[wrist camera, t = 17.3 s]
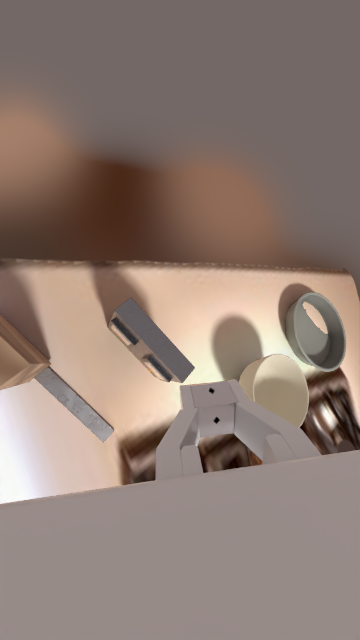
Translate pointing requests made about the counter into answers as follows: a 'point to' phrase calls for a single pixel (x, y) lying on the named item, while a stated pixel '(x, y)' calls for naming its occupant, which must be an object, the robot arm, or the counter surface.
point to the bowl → (277, 387)
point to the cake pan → (316, 333)
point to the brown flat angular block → (17, 357)
